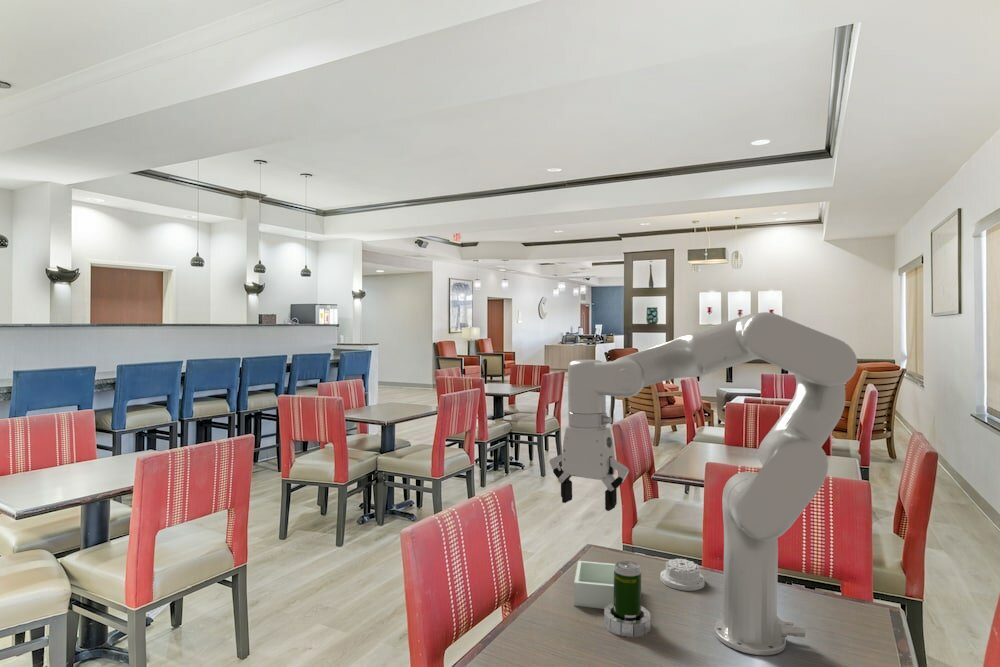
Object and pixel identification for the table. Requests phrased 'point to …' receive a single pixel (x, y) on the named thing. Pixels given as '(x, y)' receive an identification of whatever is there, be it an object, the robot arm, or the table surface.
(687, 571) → the mechanical component
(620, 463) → the robot arm
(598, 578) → the bin
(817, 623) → the table surface
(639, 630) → the collar
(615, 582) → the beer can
